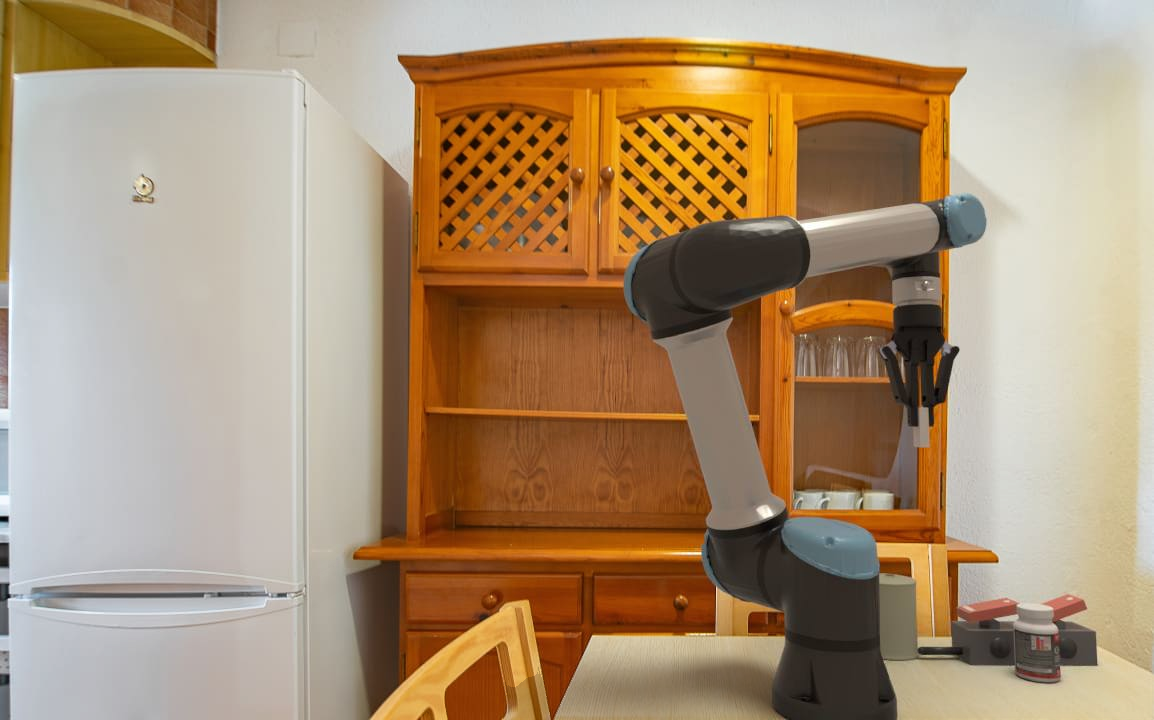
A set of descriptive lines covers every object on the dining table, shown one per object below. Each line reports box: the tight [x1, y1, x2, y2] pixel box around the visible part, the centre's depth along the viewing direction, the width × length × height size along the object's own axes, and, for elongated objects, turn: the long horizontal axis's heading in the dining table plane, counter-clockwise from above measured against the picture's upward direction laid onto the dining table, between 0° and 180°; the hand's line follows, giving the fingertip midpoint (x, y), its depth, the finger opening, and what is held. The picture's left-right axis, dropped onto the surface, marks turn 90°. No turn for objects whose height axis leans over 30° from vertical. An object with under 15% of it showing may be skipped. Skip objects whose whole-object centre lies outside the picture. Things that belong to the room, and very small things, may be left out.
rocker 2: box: [1041, 593, 1088, 622], centre depth 123 cm, size 8×4×2 cm, turn 91°
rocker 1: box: [956, 597, 1021, 623], centre depth 123 cm, size 8×4×2 cm, turn 90°
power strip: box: [918, 618, 1098, 666], centre depth 122 cm, size 26×6×6 cm, turn 89°
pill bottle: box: [1013, 602, 1062, 684], centre depth 114 cm, size 6×6×10 cm
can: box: [879, 572, 920, 661], centre depth 127 cm, size 9×9×12 cm
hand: (921, 446), depth 131 cm, fingers closed
